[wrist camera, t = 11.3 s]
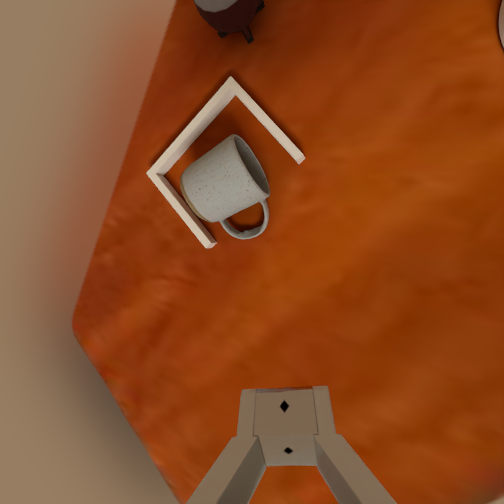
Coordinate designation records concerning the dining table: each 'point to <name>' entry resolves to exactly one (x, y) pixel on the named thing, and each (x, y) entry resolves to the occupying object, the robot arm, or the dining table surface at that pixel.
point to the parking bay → (192, 134)
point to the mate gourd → (230, 15)
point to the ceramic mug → (226, 185)
